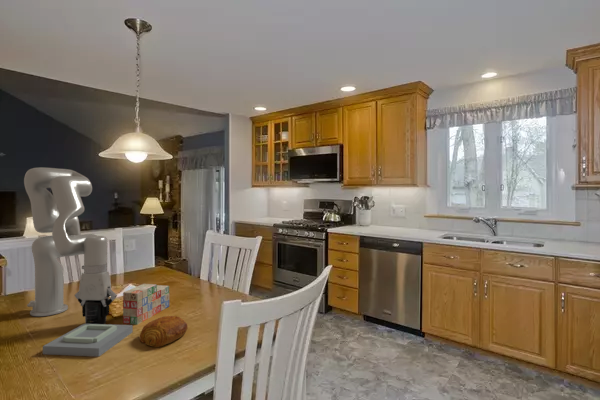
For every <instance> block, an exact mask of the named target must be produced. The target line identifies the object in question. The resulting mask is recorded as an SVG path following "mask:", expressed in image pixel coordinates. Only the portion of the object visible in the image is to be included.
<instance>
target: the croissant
mask: <svg viewBox="0 0 600 400" xmlns="http://www.w3.org/2000/svg"><path fill="white" fill-rule="evenodd" d="M188 327H189V326H188V323H187V322H186V320H184V318H183V319H182V318H181V317H180V316H176V315H168V316H162V317H158V318H157V319H154V320H152V321H150V322H147V324H145V325H144V326H143V327H142V329H141V331H140V333H139V338H140V342H141V343H143V344H146V345H147V346H150V347H153V348H161V347H163V346H165V345H169V344H171V343H173V342H174V341H176V340H178V339H180V338H181V337H182V336H184V335H185V333H187V330H188Z"/></svg>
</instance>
